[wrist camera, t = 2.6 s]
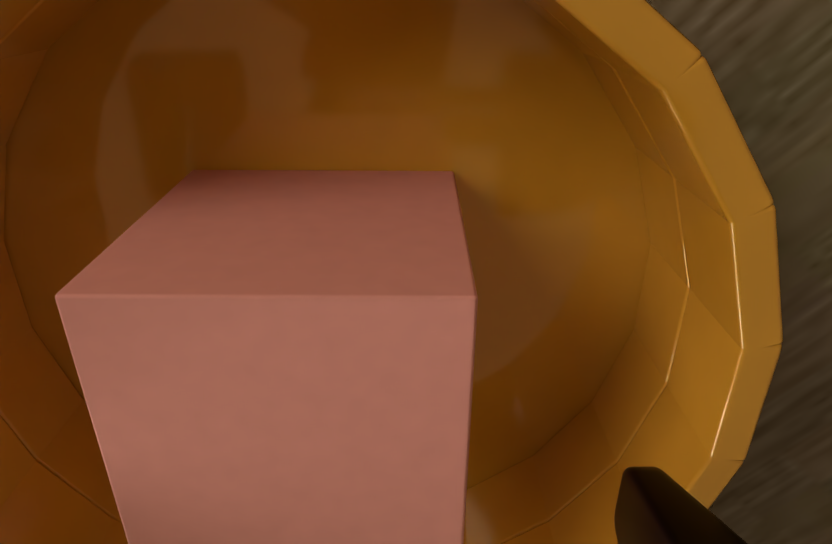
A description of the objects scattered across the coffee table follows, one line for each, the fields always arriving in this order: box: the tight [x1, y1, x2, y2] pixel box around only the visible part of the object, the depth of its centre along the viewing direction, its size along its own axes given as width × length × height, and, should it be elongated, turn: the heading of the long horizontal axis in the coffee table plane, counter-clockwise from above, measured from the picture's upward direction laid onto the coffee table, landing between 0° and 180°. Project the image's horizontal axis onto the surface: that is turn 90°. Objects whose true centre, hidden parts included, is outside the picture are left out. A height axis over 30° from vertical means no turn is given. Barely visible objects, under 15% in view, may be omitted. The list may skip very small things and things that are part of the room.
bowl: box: [0, 0, 783, 544], centre depth 11 cm, size 14×14×4 cm
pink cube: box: [55, 170, 478, 544], centre depth 10 cm, size 5×5×5 cm
